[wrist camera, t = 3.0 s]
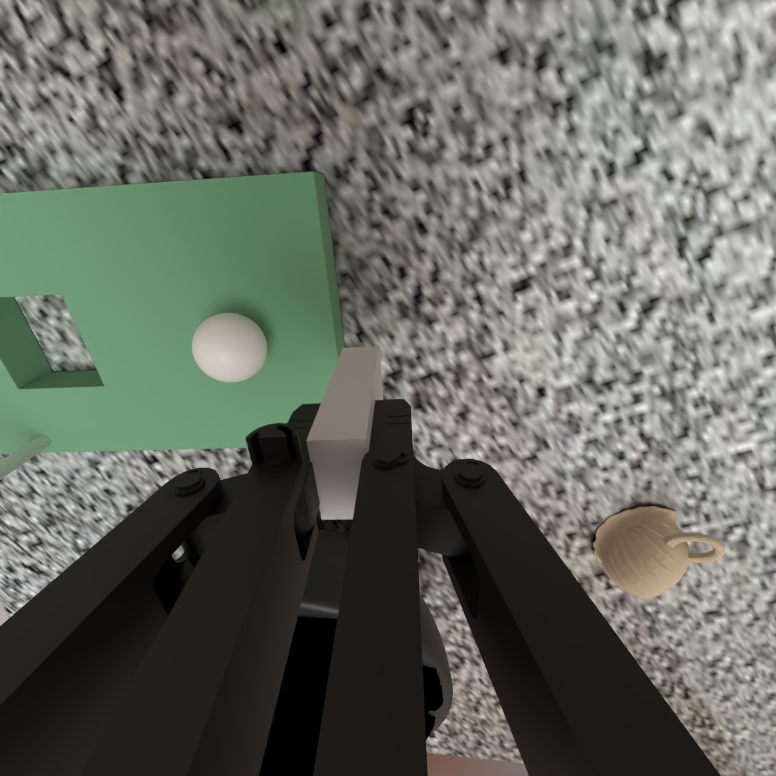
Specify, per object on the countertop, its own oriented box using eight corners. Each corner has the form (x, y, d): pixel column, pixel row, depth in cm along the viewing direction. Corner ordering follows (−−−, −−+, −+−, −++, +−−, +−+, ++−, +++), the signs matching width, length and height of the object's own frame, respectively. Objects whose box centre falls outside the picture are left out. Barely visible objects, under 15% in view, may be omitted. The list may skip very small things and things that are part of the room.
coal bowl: (217, 611, 37) (62, 958, 20) (200, 451, 27) (-118, 853, 11) (416, 636, 37) (425, 992, 21) (465, 490, 28) (553, 922, 11)
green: (-111, 204, 20) (-1473, 232, 6) (324, 174, 19) (34, 103, 4) (29, 432, 27) (-409, 711, 12) (354, 423, 26) (287, 728, 11)
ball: (204, 306, 19) (166, 327, 16) (268, 302, 19) (242, 323, 16) (221, 366, 21) (190, 395, 18) (281, 364, 21) (260, 393, 18)
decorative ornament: (574, 544, 30) (605, 609, 26) (655, 478, 27) (709, 539, 22) (610, 562, 31) (647, 628, 27) (694, 500, 28) (754, 563, 23)
